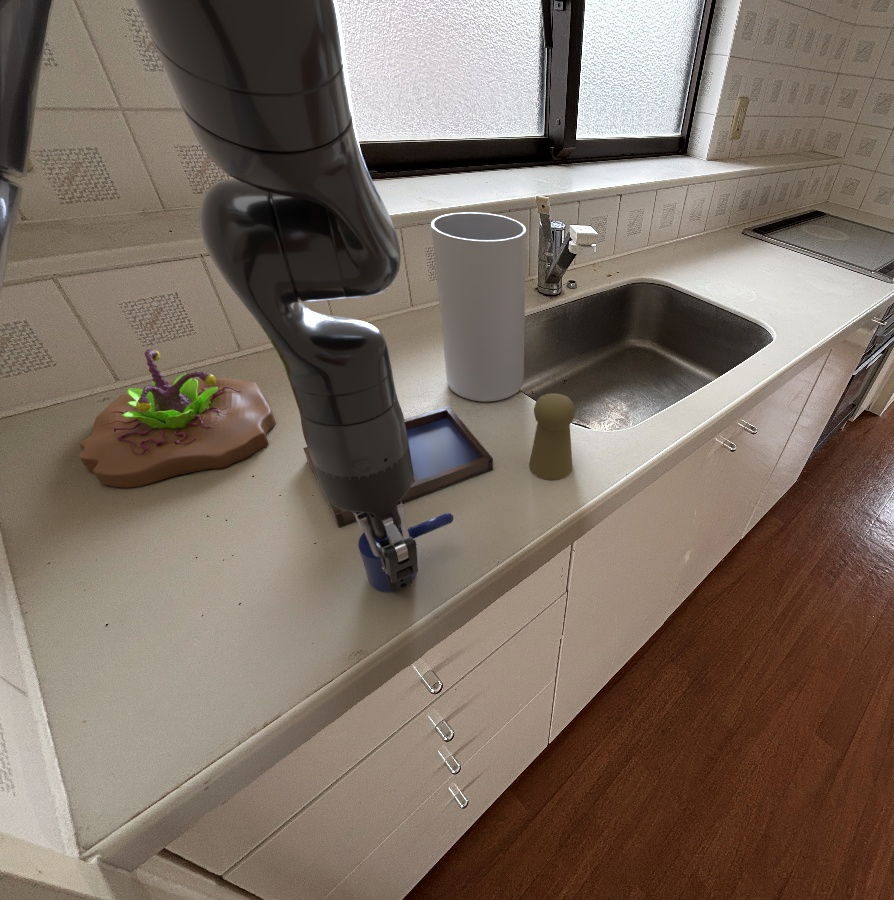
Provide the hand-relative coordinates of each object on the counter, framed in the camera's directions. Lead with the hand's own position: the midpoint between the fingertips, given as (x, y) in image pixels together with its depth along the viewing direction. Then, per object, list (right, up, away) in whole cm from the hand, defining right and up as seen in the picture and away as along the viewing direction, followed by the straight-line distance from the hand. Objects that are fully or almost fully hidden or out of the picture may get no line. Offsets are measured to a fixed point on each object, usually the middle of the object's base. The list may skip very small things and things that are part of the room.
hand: (391, 567), depth 52 cm
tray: (-4, +10, +13) cm, 17 cm away
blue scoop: (+2, 0, +2) cm, 3 cm away
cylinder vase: (+3, +24, +31) cm, 39 cm away
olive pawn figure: (+15, +10, +17) cm, 25 cm away
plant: (-33, +15, +14) cm, 39 cm away
